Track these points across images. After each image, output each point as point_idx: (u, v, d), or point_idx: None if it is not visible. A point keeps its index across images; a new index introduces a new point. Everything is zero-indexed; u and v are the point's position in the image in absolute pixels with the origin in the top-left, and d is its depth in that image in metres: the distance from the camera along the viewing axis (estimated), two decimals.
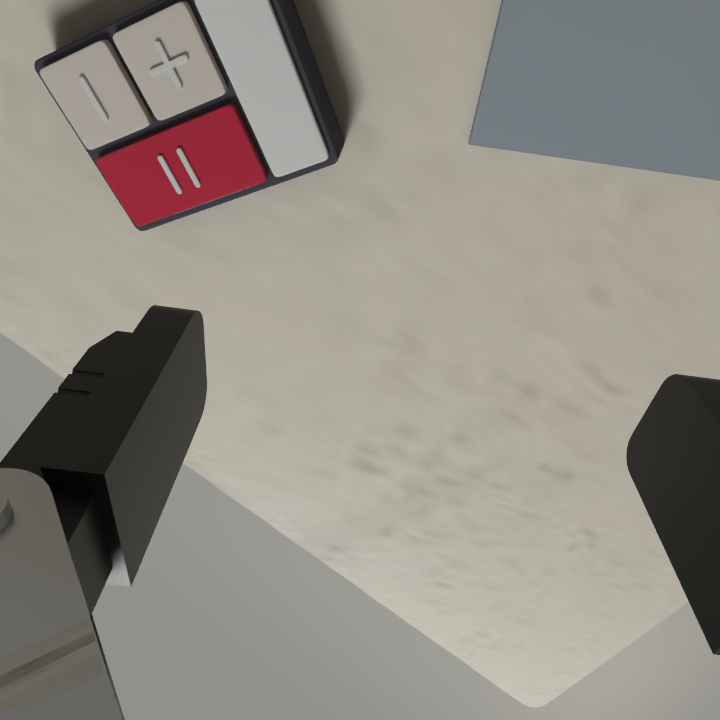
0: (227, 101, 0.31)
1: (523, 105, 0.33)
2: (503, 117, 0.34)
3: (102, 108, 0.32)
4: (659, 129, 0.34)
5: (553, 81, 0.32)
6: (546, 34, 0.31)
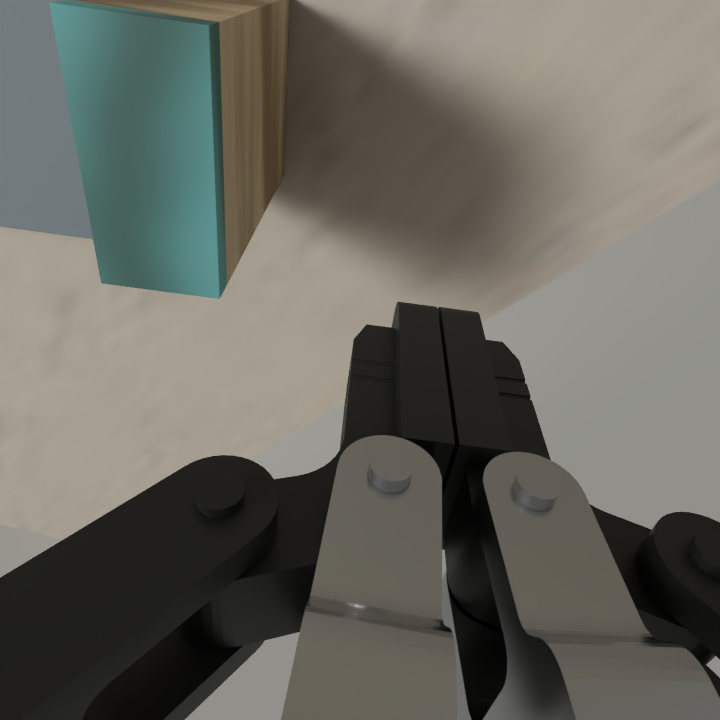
0: None
1: None
2: None
3: None
4: None
5: None
6: None
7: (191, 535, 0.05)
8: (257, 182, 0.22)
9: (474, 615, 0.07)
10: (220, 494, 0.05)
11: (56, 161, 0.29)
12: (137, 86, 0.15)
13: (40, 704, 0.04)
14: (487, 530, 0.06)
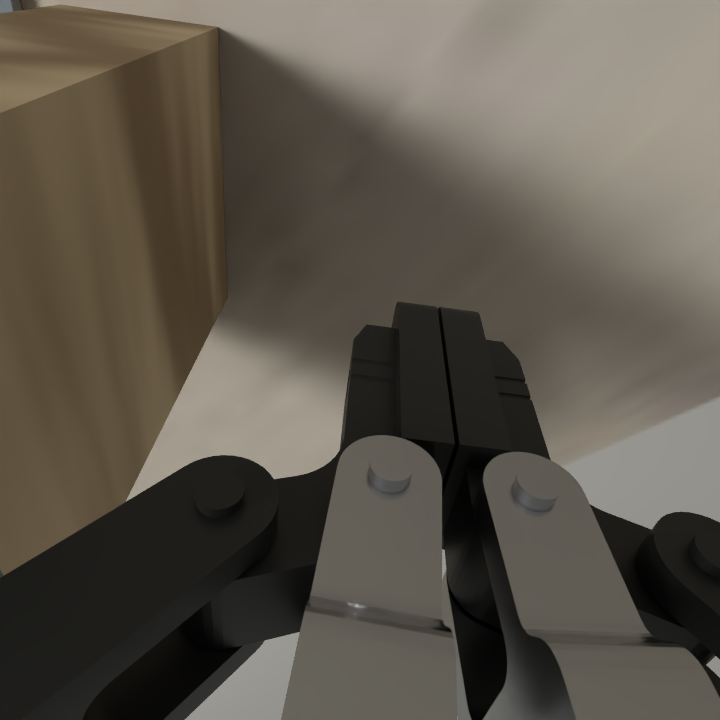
0: None
1: None
2: None
3: None
4: None
5: None
6: None
7: (191, 535, 0.05)
8: (147, 376, 0.12)
9: (474, 615, 0.07)
10: (219, 494, 0.05)
11: None
12: None
13: (40, 704, 0.04)
14: (487, 530, 0.06)
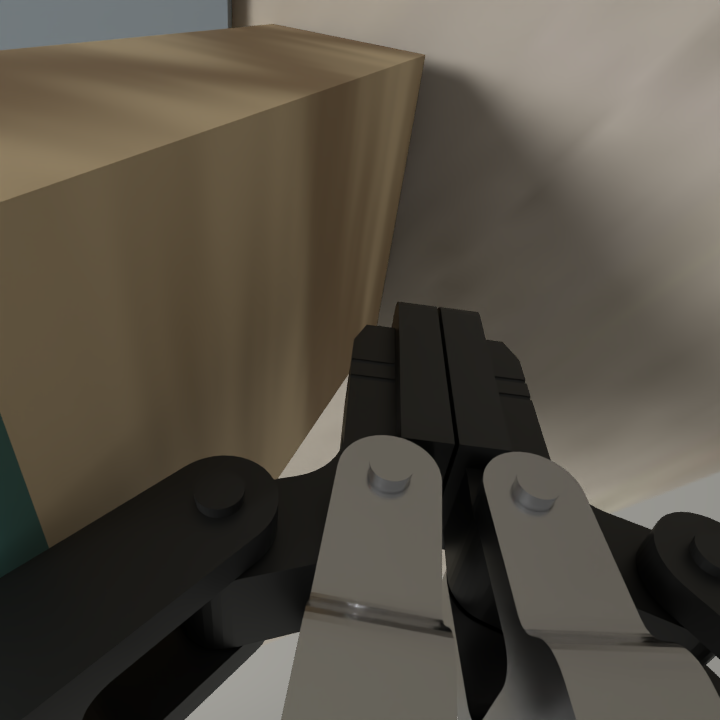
0: None
1: None
2: None
3: None
4: None
5: None
6: None
7: (191, 535, 0.05)
8: (279, 419, 0.11)
9: (474, 615, 0.07)
10: (220, 494, 0.05)
11: None
12: None
13: (40, 704, 0.04)
14: (487, 530, 0.06)
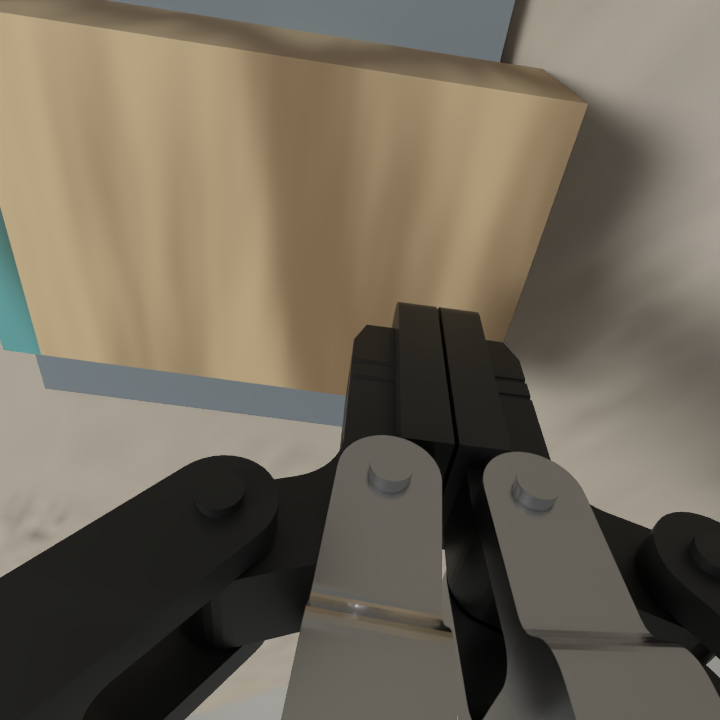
0: None
1: None
2: None
3: None
4: None
5: None
6: None
7: (191, 535, 0.05)
8: (233, 322, 0.14)
9: (474, 615, 0.07)
10: (219, 494, 0.05)
11: None
12: None
13: (40, 704, 0.04)
14: (487, 530, 0.06)
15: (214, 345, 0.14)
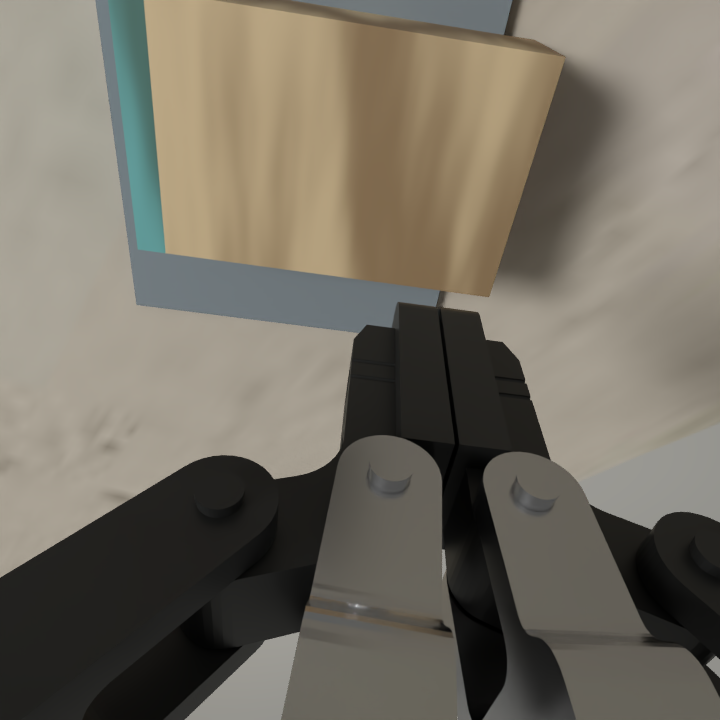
0: None
1: None
2: None
3: None
4: None
5: None
6: None
7: (190, 535, 0.05)
8: (313, 223, 0.19)
9: (474, 615, 0.07)
10: (220, 494, 0.05)
11: None
12: None
13: (40, 703, 0.04)
14: (487, 530, 0.06)
15: (297, 243, 0.19)
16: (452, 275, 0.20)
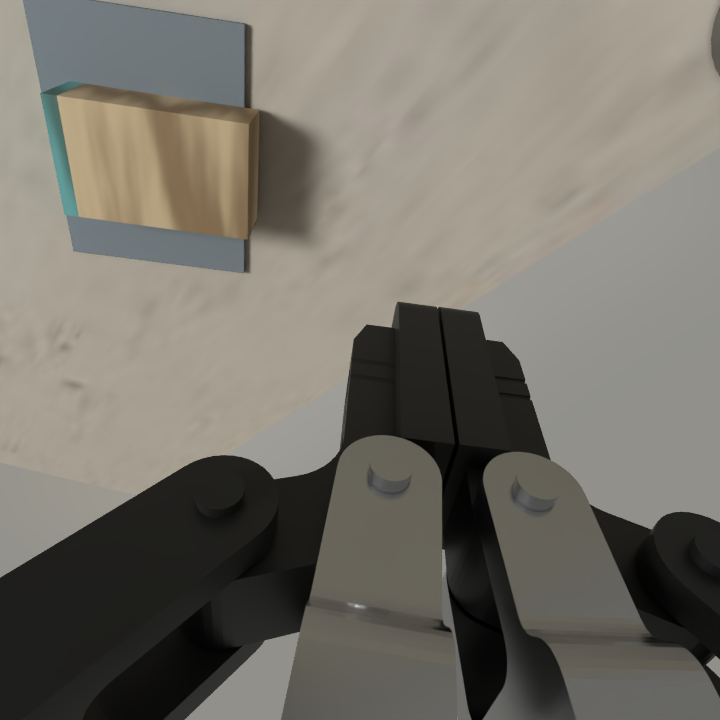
0: None
1: (72, 45, 0.36)
2: (56, 25, 0.35)
3: None
4: None
5: (98, 71, 0.37)
6: (130, 56, 0.36)
7: (191, 535, 0.05)
8: (150, 201, 0.38)
9: (474, 615, 0.07)
10: (221, 493, 0.05)
11: None
12: None
13: (40, 704, 0.04)
14: (487, 530, 0.06)
15: (144, 211, 0.38)
16: (225, 228, 0.39)
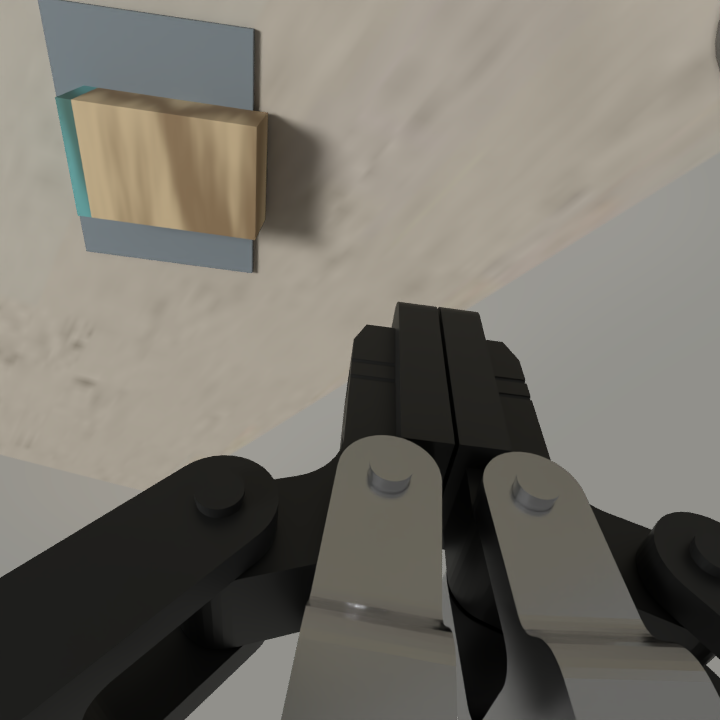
0: None
1: (86, 50, 0.37)
2: (71, 31, 0.36)
3: None
4: None
5: (111, 76, 0.38)
6: (142, 61, 0.37)
7: (191, 535, 0.05)
8: (160, 202, 0.39)
9: (474, 615, 0.07)
10: (220, 495, 0.05)
11: None
12: None
13: (40, 704, 0.04)
14: (487, 530, 0.06)
15: (154, 212, 0.39)
16: (234, 228, 0.40)
